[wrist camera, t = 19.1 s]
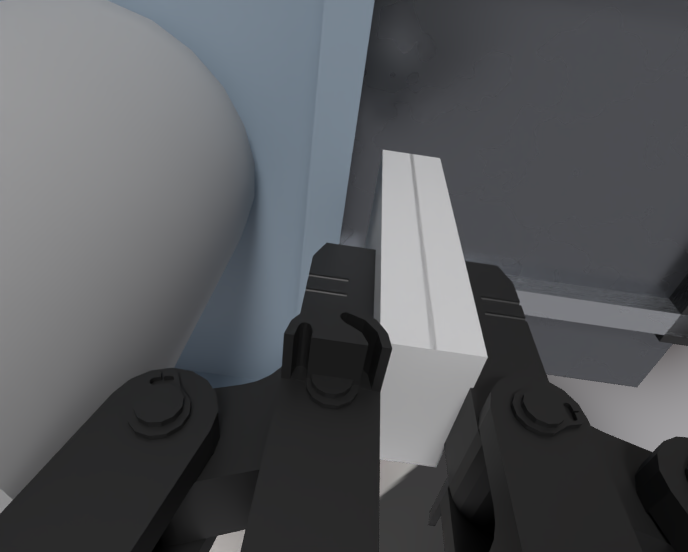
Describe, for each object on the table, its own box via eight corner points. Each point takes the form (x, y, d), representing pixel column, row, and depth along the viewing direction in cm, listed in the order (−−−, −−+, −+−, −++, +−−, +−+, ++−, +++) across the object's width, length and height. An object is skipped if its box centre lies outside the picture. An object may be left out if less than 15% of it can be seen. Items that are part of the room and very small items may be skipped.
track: (1157, -283, 10) (1272, -314, 9) (631, 377, 23) (646, 403, 22) (-263, -535, 9) (-367, -609, 8) (42, 293, 23) (21, 315, 21)
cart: (422, -329, 9) (462, -607, 4) (325, 338, 20) (307, 461, 16) (-337, -461, 9) (-1185, -916, 4) (-2, 292, 20) (-119, 402, 15)
